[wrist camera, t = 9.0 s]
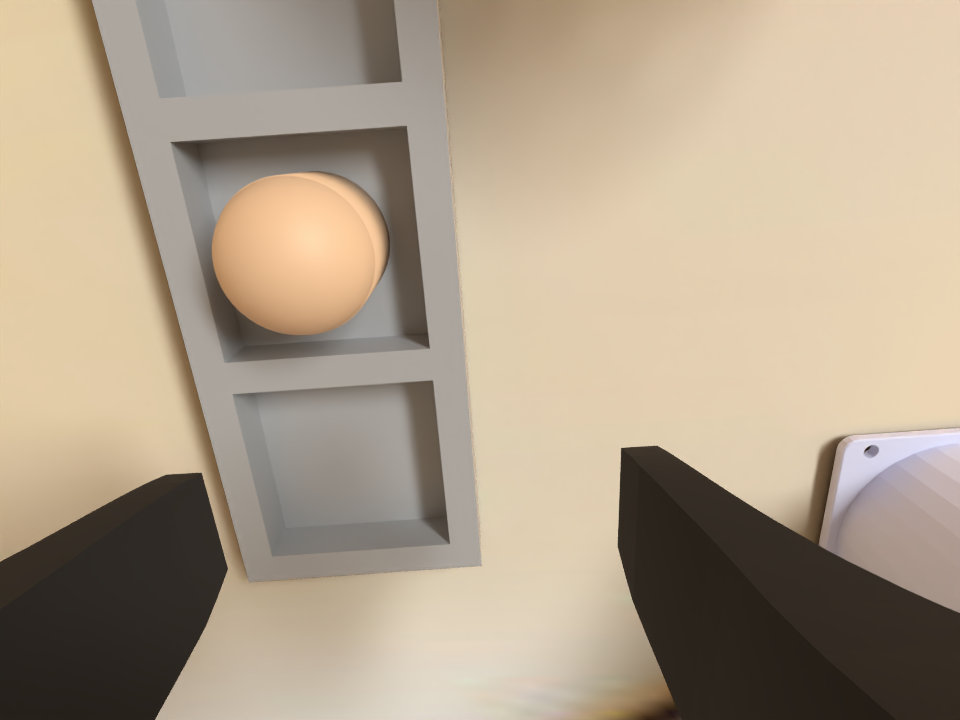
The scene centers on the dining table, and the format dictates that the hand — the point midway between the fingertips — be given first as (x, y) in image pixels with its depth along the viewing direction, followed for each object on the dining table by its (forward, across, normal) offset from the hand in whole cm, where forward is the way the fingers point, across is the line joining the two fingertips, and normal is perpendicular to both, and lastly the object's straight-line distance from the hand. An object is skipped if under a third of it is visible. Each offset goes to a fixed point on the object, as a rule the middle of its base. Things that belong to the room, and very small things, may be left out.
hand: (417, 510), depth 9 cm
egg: (+9, +3, -4) cm, 10 cm away
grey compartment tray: (+9, +3, -4) cm, 10 cm away
